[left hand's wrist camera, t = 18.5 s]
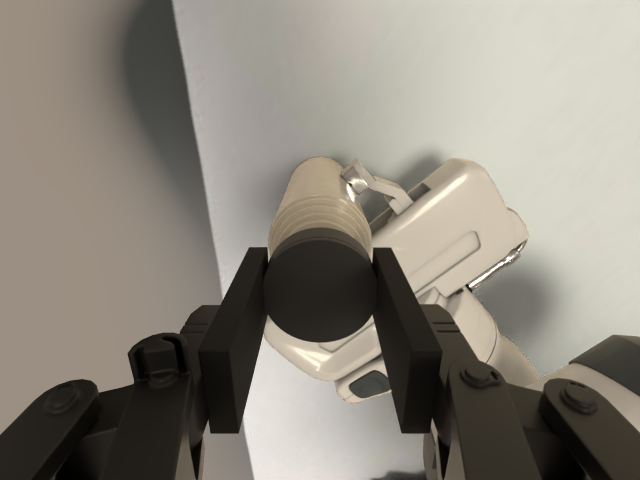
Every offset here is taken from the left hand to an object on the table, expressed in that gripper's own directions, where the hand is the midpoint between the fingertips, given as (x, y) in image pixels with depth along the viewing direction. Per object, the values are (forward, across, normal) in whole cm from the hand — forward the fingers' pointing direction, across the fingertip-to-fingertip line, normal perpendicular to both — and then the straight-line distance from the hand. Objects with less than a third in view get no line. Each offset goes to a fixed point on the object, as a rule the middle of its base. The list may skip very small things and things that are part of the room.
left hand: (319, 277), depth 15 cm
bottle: (+17, 0, 0) cm, 17 cm away
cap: (-1, 0, 0) cm, 1 cm away
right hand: (+11, -1, +1) cm, 11 cm away
